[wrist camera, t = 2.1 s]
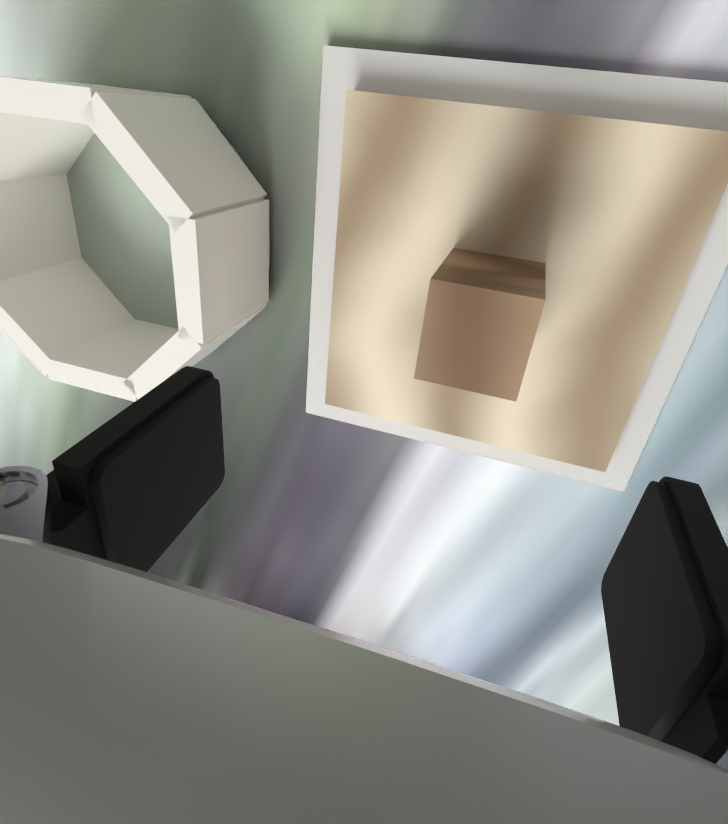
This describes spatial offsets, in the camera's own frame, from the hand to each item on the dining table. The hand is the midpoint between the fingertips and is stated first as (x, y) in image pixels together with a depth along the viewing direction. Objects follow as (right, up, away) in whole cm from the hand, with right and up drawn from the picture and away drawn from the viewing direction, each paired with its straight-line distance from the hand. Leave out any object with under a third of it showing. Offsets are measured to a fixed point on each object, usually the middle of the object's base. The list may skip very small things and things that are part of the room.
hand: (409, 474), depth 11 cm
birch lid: (+5, +7, +13) cm, 16 cm away
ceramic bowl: (-12, +11, +17) cm, 24 cm away
